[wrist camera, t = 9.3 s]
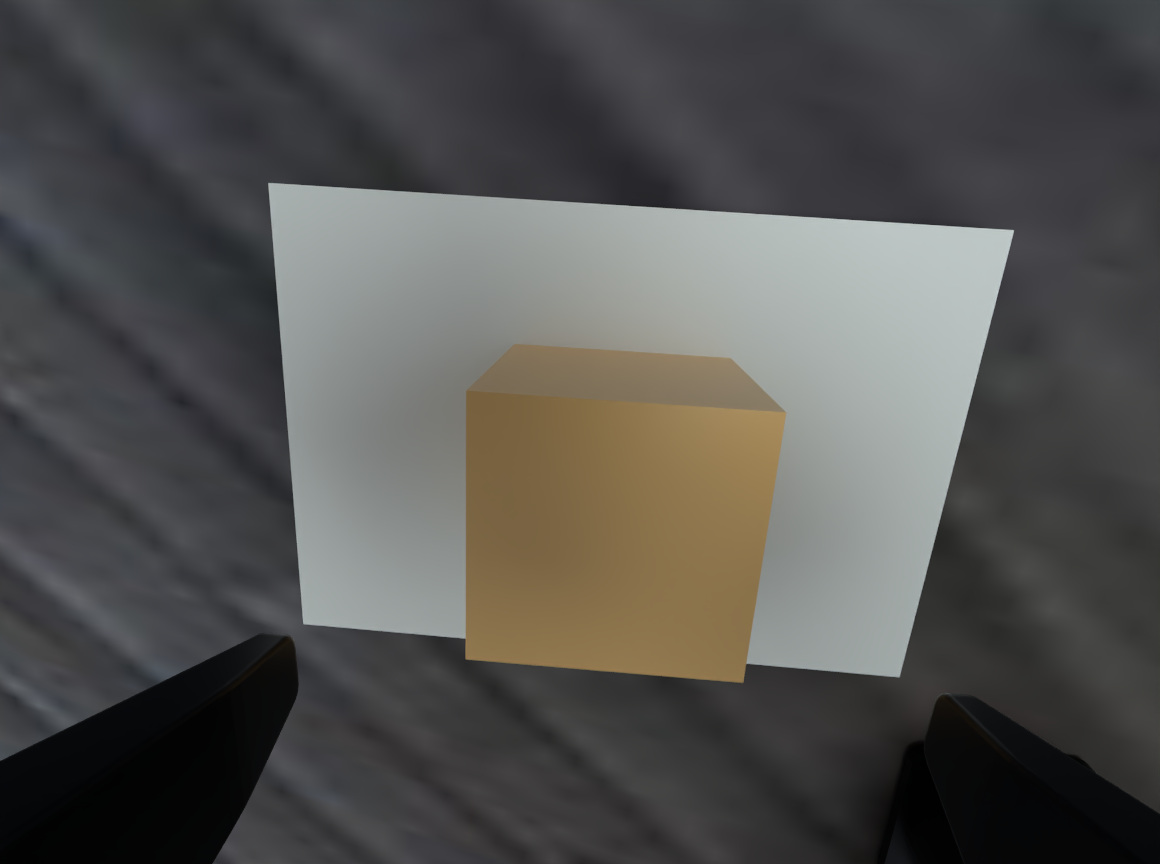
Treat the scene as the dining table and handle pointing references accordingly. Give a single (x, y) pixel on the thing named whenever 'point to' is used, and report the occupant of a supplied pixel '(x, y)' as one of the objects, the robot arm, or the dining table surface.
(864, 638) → the plate
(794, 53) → the dining table surface
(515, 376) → the cardboard box
